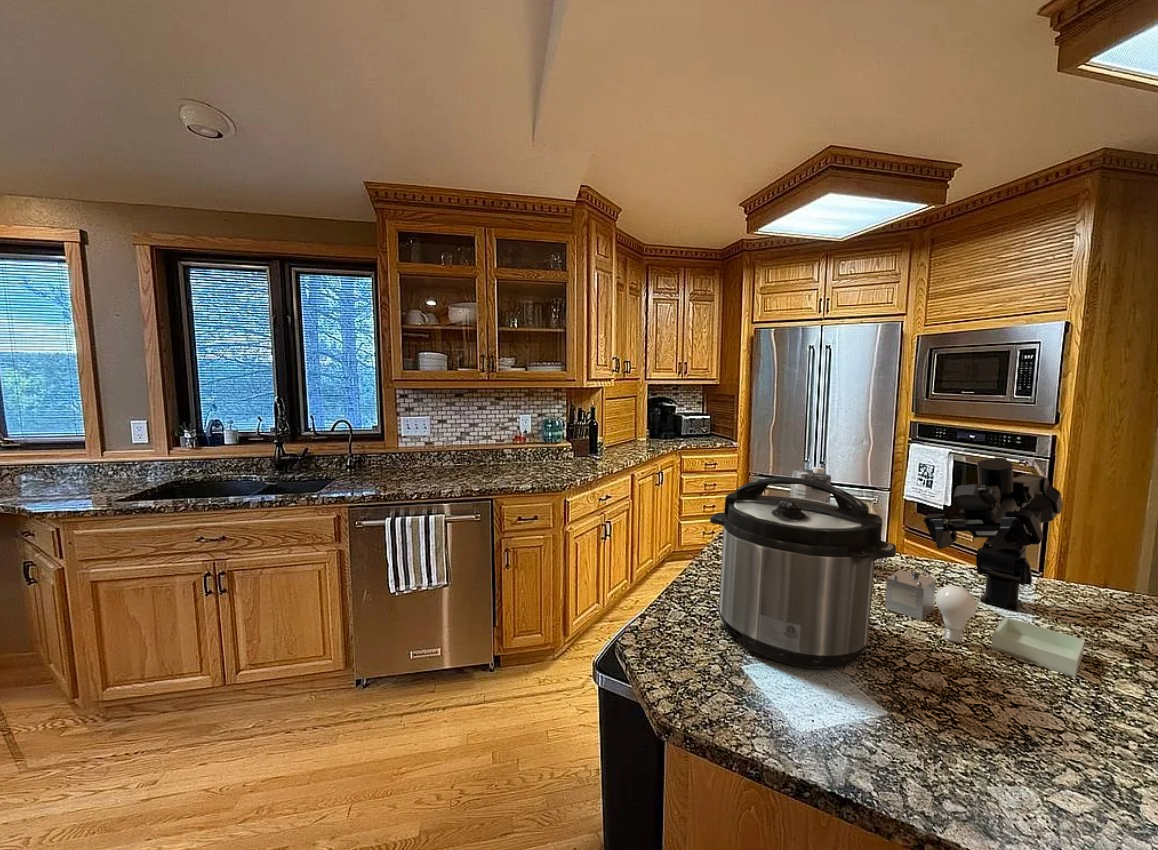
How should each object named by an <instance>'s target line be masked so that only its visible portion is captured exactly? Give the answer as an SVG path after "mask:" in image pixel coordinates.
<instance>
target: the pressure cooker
mask: <svg viewBox="0 0 1158 850" xmlns="http://www.w3.org/2000/svg"><path fill="white" fill-rule="evenodd" d="M791 484H802V485H805V486H808V487H811V488H815V489H818V490H821V491H824V492H827V493H830V494H831V496H833V497H834V499H835V502H836V504H834V503H831V502H830V503H826V502H821V501H816V500H811V499H804V498H796V497H790V496H785V495H784V496H781V495H762V494H763V493H764V492H765V491H766V489H767V488H768V487H769V485H791ZM869 511H870V510H869V506H868V505H867V504H866V503H865V502H864V501H862V500H860V499H859V497H856V496H854V495H853V494H851V493H849V492H848V491H845V490H843V489H841V488H839V487H836V486H833V485H832V484H831V485H828V484H825V483H821V482H818V481H813V480H808V479H802V478H792V476H782V477H781V476H778V477H777V476H775V477H767V478H766V477H765V478H762V479H757V480H753V481H750V482H748V483H745V484H743V485H741V486H739V487H738V488H736V490H735V492H732V493H728V494H727V495H725V499H724V511H723V512H721V511H720V512H717V513H715V514H713V515H712V516H710V518H709V523H710V524H713V525H719V526H721V527H723V528H722V531H723V532H722V550H721V565H720V580H719V581H720V582H719V585H720V586H719V602H718V610H719V612H718V613H719V617H720V619H721V622H722V624H723V626H724V628H725V630H726V632H727V633H733V635H734V636H735V637H736V638H737V639H739V640H740V642H741V643H742V644H743V645H744V646H745V647H746V648H747V649H748V650H751V651H752V652H754V653H756V654H758V655H760V656H762V657H764V658H767V659H770V660H772V661H774V662H775V661H776V662H779V663H783V664H785V665H790V666H795V667H800V668H801V667H802V668H808V669H809V668H810V669H834V668H839V667H845V666H847V665H849V664H852V663H854V662H855V661H856V660H858V659H859V658H860V657H861V655H862V654H863V653H864V651H865V649H866V647H867V645H868V641H869V634H870V632H869V631H870V624H871V623H870V621H871V620H870V619H871V611H872V609H871V608H872V596H873V588H874V587H873V586H874V574H875V573H874V572H875V565H876V563H875V562H876V561H878V560H881V559H882V560H883V559H885V558H886V559H887V558H895V557H896V556H897V555H896V554H897V546H896V544H894V543H892V542H888V541H885V540H882V530H883V518H882V517H881V515H879V514H876V513H870V512H869Z"/></svg>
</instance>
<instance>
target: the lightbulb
mask: <svg viewBox="0 0 1158 850" xmlns="http://www.w3.org/2000/svg"><path fill="white" fill-rule="evenodd" d="M934 603H935V604H936V607H937V609H938V611H939V612H940V614H941V615H942V620H943V624H944V632H943V633H944V634H943V636H944V637H945V639H947V640H948V641H950V642H951V643H958V642H961V641H962V638H963V637H962V636H963V635H962V634H963V629H964V628H965V626H966V623H967V622H968V621H969V620H970V619H971V618H973V616H974V615H975V614H976V613H977V609H978V605H977V600H976V599H975V597H974V596H973V595H972V593H971V592H970V591H968V590H967V589H966V588H964V587H961V586H958V585H945V586H943V587H941V588H939V589H938V591H937V592H935V597H934Z"/></svg>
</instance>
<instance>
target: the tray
mask: <svg viewBox="0 0 1158 850" xmlns="http://www.w3.org/2000/svg"><path fill="white" fill-rule="evenodd" d="M991 636H992V637H991V645H990V649H991V650H993V651H997V652H999V653H1002V654H1004V655H1007V656H1011V657H1013V658H1016V659H1020V660H1023V661H1026V662H1029V663H1031V664H1035V665H1037V666H1041V667H1044V668H1046V669H1049V670H1053V671H1055V672H1057V673H1061V674H1064V675H1067V676H1070V677H1072V678H1076V677H1077V674H1078V671H1079V668H1080V665H1081V663H1082V660H1083V657H1084V653H1085V652H1084V651H1085V642H1086V640H1085V639H1082V638H1079V637H1076V636H1073V635H1069V634H1066V633H1063V632H1060V631H1059V632H1058V631H1055V630H1053V629H1048V628H1045V627H1042V626H1039V625H1034V624H1032V623H1029V622H1028V623H1027V622H1024V621H1022V620H1021V621H1020V620H1018V619H1015V618H1011V617H1007V616H1005V617H1004V618H1003V620H1002V621H1001V622H1000V624H998V625H997V627H996V629H994V632H993V633H992V635H991Z"/></svg>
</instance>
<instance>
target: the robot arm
mask: <svg viewBox="0 0 1158 850" xmlns="http://www.w3.org/2000/svg"><path fill="white" fill-rule="evenodd" d="M1013 464H1014V463H1012V462H1011V461H1009V460H1008V458H1006V457H997V456H996V457H994V458H989V459H983V460H978V461H977V463H976V465H977V480H978V481H977V483H978V484H977V483H975V484H964V485H963V484H962V485H957V486H956V487H955V491H954V494H953V497H952V499H953V501H954V502H956V504H957V505H958V506H959V507H960V508H961V509H960V510H959V515H960V518H964V519H951V517H950V515H949V514H947V513H930V514H927V515H926V517H925V518H924V519H923V522H924V525H925V526H926V529H927V531H928V533H929V536H930V538H931V540H932V541H933V542H935V546H936V548H937V549H938V550H942V549H945V548H949V547H950V546H953V545H954V544H955V542H956V541H957V539H958V533H957V532H969V533H971V536H972V537H973V538H976V539H977V538H982V539H984V538H986V540H985V541H984V542H982V543H983V544H982V546H981V547H979V548H978V549H977V551H976V557H975V561H976V562H975V563H976V573H977V574H979V575H980V574H981V575H985V576H986V579H985V590H984V591H985V592H984V594H983V595H982V596H981V597H980V598H979V601H980V602H982V603H985V604H989V605H993V606H996V607H999V608H1003V609H1007V610H1011V611H1015V612H1017V611H1019V608H1020V607H1021V606H1022V604H1023V602H1022V601H1021V600H1019V591H1020V585H1021V586H1025V585H1026V586H1027V585H1032V584H1033V583H1032V582H1033V575H1032V568H1031V565H1030V562H1029V559H1028V558H1027V550H1026V548H1027V547H1028V546H1030V545H1039V544H1040V543H1041V542H1042V541H1043V539H1044V532H1043V530H1042V528H1041V526H1040V525H1041V524H1043V523H1049V522H1051V521H1054V520H1055V519H1056V517H1057V516H1058V515H1060V514H1061V513H1062V512H1063V511H1062V510H1063V498H1062V495H1061V492H1060V491H1059V490H1058V489H1057V488H1056V487H1054V486H1053V485H1052V484H1050V482H1049V478H1048V477H1045V476H1043V475H1038V474H1037V475H1035V474H1028V473H1023V474H1019V475H1018V476H1016V477H1014V465H1013Z"/></svg>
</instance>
